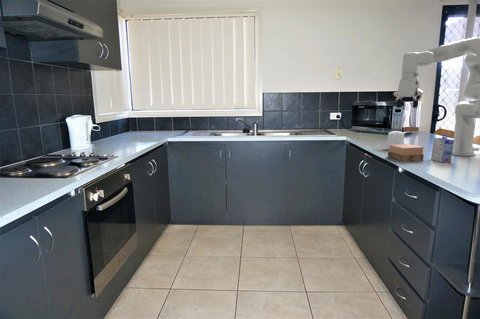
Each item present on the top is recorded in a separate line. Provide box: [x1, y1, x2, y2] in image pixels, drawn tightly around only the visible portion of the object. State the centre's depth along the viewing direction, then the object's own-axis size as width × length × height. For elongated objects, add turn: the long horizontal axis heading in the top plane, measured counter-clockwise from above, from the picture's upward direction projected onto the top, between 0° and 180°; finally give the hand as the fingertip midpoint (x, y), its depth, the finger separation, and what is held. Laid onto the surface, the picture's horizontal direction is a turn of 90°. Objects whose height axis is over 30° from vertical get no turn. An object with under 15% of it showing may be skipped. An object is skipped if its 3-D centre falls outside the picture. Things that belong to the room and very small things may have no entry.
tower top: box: [389, 143, 424, 155], centre depth 176 cm, size 12×12×4 cm
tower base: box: [387, 150, 424, 163], centre depth 177 cm, size 13×13×4 cm
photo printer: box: [386, 130, 405, 151], centre depth 208 cm, size 10×4×12 cm, turn 84°
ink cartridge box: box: [430, 133, 454, 163], centre depth 169 cm, size 10×6×14 cm, turn 1°
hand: (406, 107), depth 175 cm, fingers open, 9 cm apart
